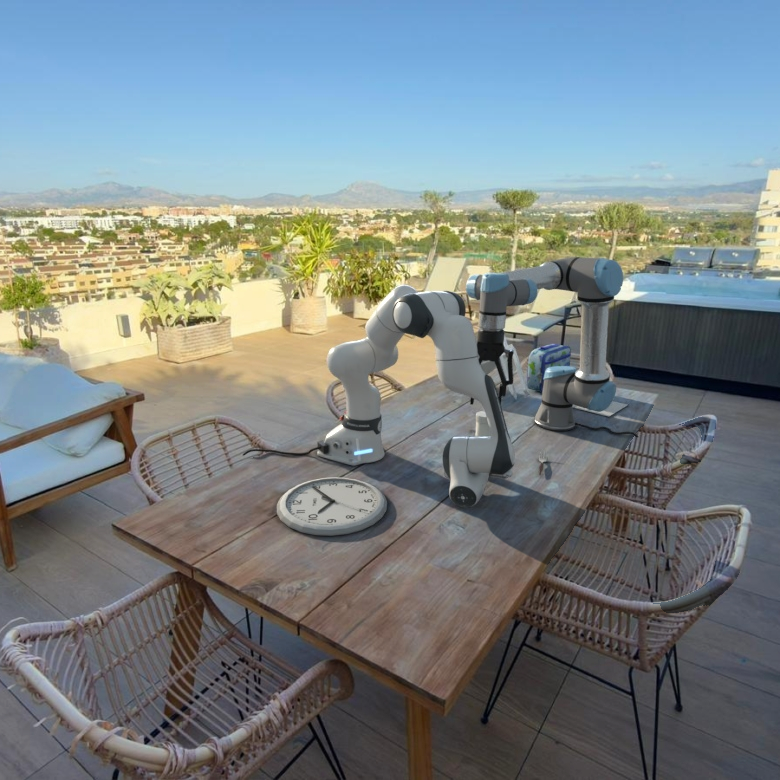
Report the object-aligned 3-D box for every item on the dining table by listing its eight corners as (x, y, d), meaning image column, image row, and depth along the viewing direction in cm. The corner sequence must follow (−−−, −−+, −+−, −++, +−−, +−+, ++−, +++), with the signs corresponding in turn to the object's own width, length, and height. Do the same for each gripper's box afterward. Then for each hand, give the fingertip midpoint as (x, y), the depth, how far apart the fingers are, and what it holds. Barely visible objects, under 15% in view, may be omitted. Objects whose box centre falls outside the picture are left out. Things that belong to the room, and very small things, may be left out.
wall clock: (392, 527, 129) (268, 531, 127) (391, 533, 130) (269, 537, 127) (383, 473, 158) (282, 475, 155) (383, 478, 158) (282, 480, 156)
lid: (489, 417, 160) (490, 410, 160) (496, 423, 155) (496, 416, 155) (473, 418, 160) (473, 411, 159) (479, 424, 154) (479, 417, 154)
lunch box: (542, 396, 239) (547, 351, 232) (522, 391, 246) (526, 347, 240) (570, 385, 256) (575, 343, 250) (550, 380, 263) (554, 339, 257)
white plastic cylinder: (485, 469, 165) (489, 412, 160) (490, 476, 161) (495, 417, 155) (470, 470, 165) (474, 413, 159) (475, 477, 160) (480, 418, 154)
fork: (535, 475, 162) (535, 469, 161) (539, 455, 176) (540, 450, 175) (543, 477, 161) (544, 471, 160) (547, 456, 175) (548, 451, 175)
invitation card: (608, 416, 214) (573, 407, 224) (608, 416, 214) (573, 408, 224) (628, 404, 229) (594, 396, 238) (628, 405, 229) (594, 397, 238)
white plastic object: (461, 429, 252) (437, 405, 227) (444, 352, 274) (420, 323, 250) (535, 404, 240) (518, 377, 215) (510, 326, 262) (492, 293, 237)
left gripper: (512, 467, 145) (517, 448, 157) (440, 456, 151) (450, 439, 164) (510, 488, 147) (515, 467, 159) (439, 476, 153) (449, 457, 166)
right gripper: (528, 328, 150) (521, 404, 157) (457, 324, 155) (453, 397, 162) (527, 333, 143) (520, 412, 150) (453, 328, 148) (449, 404, 155)
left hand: (482, 453), depth 162 cm, fingers open, 7 cm apart
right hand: (485, 404), depth 156 cm, fingers open, 7 cm apart
